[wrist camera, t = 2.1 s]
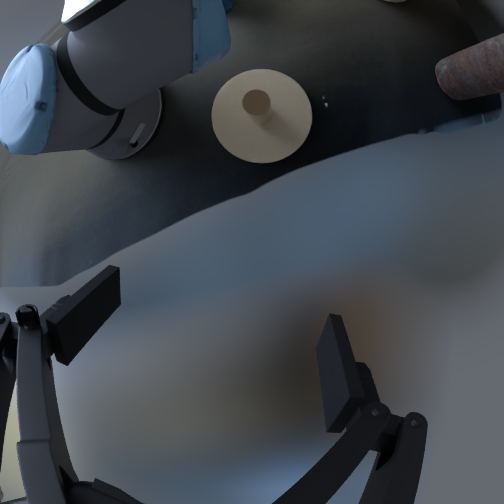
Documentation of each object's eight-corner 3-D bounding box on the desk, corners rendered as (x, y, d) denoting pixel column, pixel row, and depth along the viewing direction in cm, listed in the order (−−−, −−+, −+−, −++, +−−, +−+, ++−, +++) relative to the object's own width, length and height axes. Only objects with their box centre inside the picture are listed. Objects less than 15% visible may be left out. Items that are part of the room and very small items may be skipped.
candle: (444, 106, 32) (529, 92, 14) (423, 65, 31) (498, 28, 12) (472, 95, 31) (552, 82, 12) (452, 57, 29) (526, 26, 10)
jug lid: (205, 153, 39) (182, 153, 29) (224, 65, 34) (207, 40, 25) (300, 172, 39) (307, 177, 29) (319, 82, 34) (331, 60, 24)
